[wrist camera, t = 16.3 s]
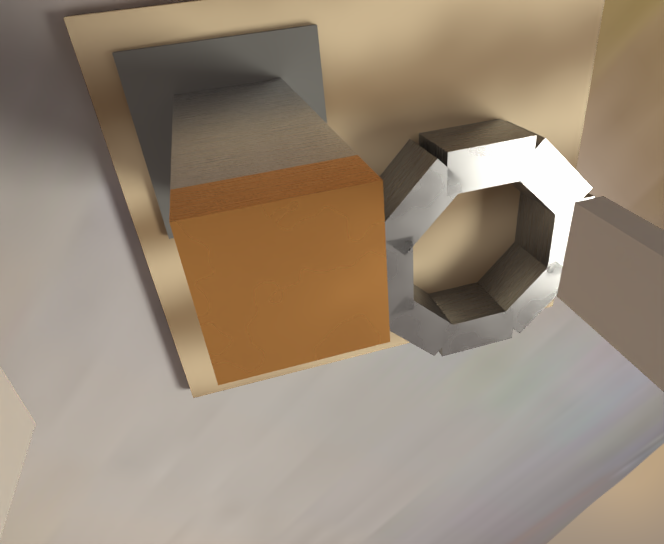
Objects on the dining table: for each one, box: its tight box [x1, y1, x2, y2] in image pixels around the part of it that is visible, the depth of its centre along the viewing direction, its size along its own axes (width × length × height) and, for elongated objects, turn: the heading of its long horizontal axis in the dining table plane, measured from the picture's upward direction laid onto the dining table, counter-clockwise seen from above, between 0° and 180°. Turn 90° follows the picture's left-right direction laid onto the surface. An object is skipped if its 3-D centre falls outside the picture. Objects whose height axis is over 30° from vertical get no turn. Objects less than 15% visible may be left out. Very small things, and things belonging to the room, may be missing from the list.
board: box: [64, 0, 605, 398], centre depth 29 cm, size 22×26×1 cm
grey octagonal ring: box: [380, 119, 594, 356], centre depth 30 cm, size 13×13×4 cm
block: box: [169, 78, 390, 385], centre depth 19 cm, size 5×5×14 cm
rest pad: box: [112, 24, 327, 239], centre depth 25 cm, size 9×9×1 cm
